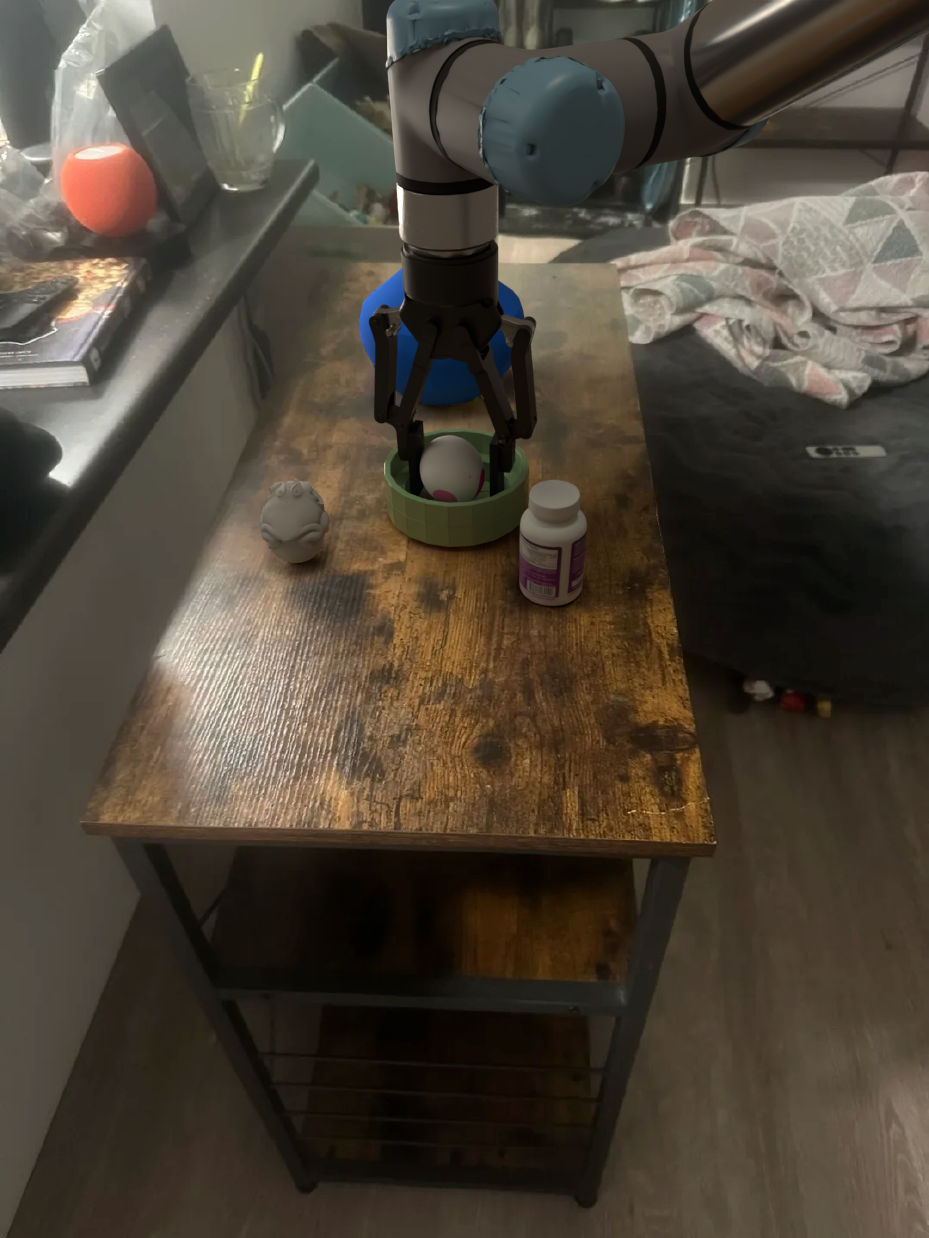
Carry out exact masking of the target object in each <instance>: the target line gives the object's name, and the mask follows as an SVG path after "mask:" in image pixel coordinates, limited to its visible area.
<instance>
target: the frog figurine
mask: <svg viewBox="0 0 929 1238" xmlns="http://www.w3.org/2000/svg"><path fill="white" fill-rule="evenodd" d="M325 509H326V507H325V503H324V499H323V497H322V496H321V495H320V494H319V492H318V491H317V490H315V489H314V488H313V486H312V485H311V483H310V482H308V481H302V480H297V479H296V480H293V479H292V480H287V481H285V482H283V481H277V482H273V484H272V485H271V486H270V487H269V495H268V496H266V498H265V503H263V509H262V511H261V515H260V518H259V530H260V536H261V539H262V540H263V541H264V542H265V544H266V546H267V548H268V549H269V550H271V552H272V553H273V554H274V555H275V557H277V558H278V559H280V560H282V561H284V562H287V563H291V564H299V563H300V564H301V563H304V562H307V561H309V560H311V559H313V558H314V557H315V556H316V555H317V554H318V553H319V552H320V550H321V549H322V546H323V545H324V541H325V536H326V534H327V533H328V532H329V528H330V527H329V525H330V522H331V521H330V515H329V513H328V512H327V511H326V510H325Z"/></svg>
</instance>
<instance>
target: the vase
mask: <svg viewBox="0 0 929 1238" xmlns="http://www.w3.org/2000/svg"><path fill="white" fill-rule="evenodd" d="M498 298H499V302H500V304H501V306H502V308H503V310H504V314H506V315H509V316H512V317H515V318H518V319H521V320H523V319H524V318H525V317H526V316H525V311H524V308H523V305H522V302H521V299H520V296H518V294H516V292H515V291H514V290H513V289H512V288H510V287H509V286H507V285H506V284H505V283H503V282H502V281H501V280H499V279H498ZM403 300H404V290H403V276H402V267H401V268H400V269H398V270H397V272H395V273H394V274H393V275H392V276H391V277H389V278H388V279H387V280H386V281H384V282H383V283H382V284H381V285H379V286H378V287H377V288H376V289H374V290H373V291H372V292H371V293H369V295H367V297H366V298H365V300H364V301H363V303H362V307H361V310H360V314H359V320H358V327H359V335H360V343H361V344H362V346H363V349H364V351H365V353H366V355H367V356H368V358H369V360H370V362H371V364H372V365H373V367H374V368H375V341H374V338H373V335H372V332H371V329H370V326H369V319H370V317H371V316H372V315H373V314H374V312H375V311H376V310H377V309H378V308H379V306H380V305H383V304H385V305H388V306H389V307H390V308H394V307H399V306H401V305H402V303H403ZM397 334H398V346H397V373H396V393H398V394H399V395H402V396H403V394H404V391H405V388H406V385H407V382H408V379H409V376H410V372H411V369H412V366H413V360H414V357H415V354H416V351H417V348H418V342H417V341H416V340H415V338H414V337H413V335H412V334H411V333H410V331H409V330H408V329H407V327H406V326H405V325H404V323H403V322H401V329H400V331H399V332H398V333H397ZM489 342H490V345H491V348H492V351H493V359H494V362H495V365H496V368H497V370H498V373H499V376H500V378H501V380H502V379H503V378H504V376H505V375H507V373H508V372H509V371H510V369H511V368H512V367H511V351H512V347H508V345H507V344H506V341H505V334H504V333H503V332H502V331H500V330H498V331H497V333H496V334H495V335H494V336H493V338H492V339H491V340H490V341H489ZM480 397H482V396H481V393H480V391H479V388H478V386H477V383H476V380H475V378H474V376H473V375H472V374H471V373H470V371H469V369H468V366H467V364H466V362H459V361H456V360H453V359H451V358H448V359H442V360H438V359H434V360H433V363H432V366H431V369H430V372H429V375H428V378H427V381H426V384H425V387H424V389H423V392H422V395H421V398H420V401H419V404H423V405H426V406H436V407H445V406H446V407H447V406H456V405H463V404H466V403H469V402H473V401H474V400H476V399H478V398H480Z"/></svg>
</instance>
